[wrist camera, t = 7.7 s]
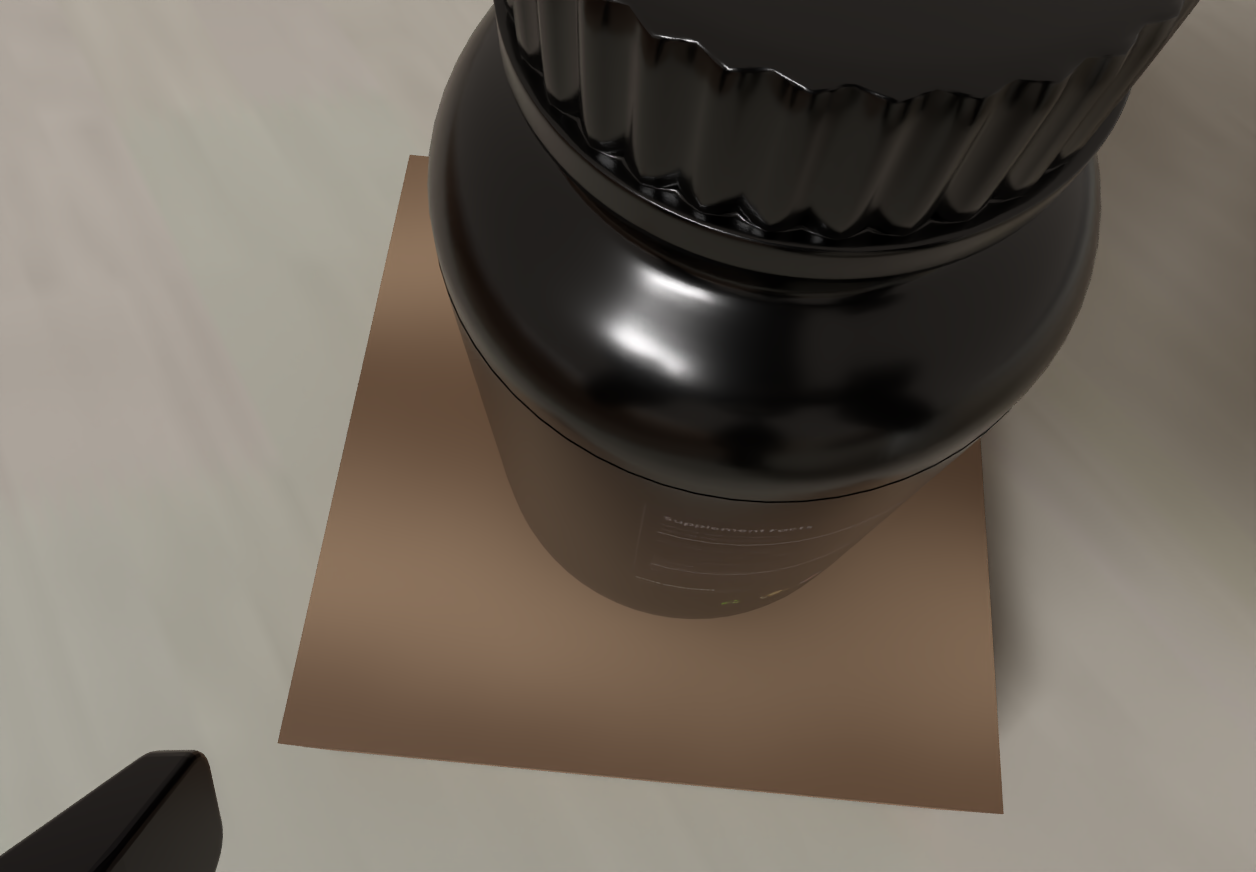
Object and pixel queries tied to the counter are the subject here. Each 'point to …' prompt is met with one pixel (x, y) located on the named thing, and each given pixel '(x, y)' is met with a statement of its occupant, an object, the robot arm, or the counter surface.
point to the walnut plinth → (621, 614)
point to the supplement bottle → (764, 261)
